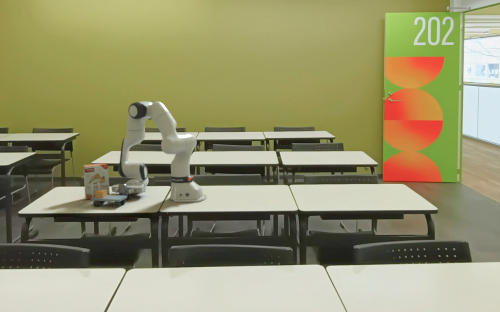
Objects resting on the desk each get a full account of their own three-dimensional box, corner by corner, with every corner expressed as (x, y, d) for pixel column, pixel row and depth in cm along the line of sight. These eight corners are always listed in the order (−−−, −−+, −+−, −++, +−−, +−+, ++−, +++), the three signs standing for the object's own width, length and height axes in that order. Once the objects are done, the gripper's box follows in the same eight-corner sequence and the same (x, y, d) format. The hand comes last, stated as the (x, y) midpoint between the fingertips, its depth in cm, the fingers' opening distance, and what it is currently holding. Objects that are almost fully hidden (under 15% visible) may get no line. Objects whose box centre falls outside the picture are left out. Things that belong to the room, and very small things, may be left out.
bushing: (129, 199, 289) (128, 183, 287) (125, 201, 284) (124, 185, 282) (121, 199, 290) (120, 183, 288) (117, 201, 285) (116, 184, 283)
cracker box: (86, 200, 288) (84, 166, 285) (85, 198, 293) (82, 164, 290) (110, 197, 295) (108, 164, 291) (108, 195, 300) (106, 162, 296)
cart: (127, 203, 279) (126, 179, 277) (120, 207, 271) (118, 183, 268) (99, 202, 283) (98, 178, 281) (91, 206, 275) (89, 182, 272)
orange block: (107, 195, 279) (107, 189, 278) (103, 197, 274) (102, 192, 274) (99, 195, 280) (99, 189, 280) (95, 197, 275) (94, 191, 275)
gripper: (117, 180, 300) (106, 186, 287) (147, 182, 296) (137, 187, 282) (118, 190, 301) (106, 196, 288) (147, 191, 297) (137, 197, 283)
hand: (122, 191), depth 285 cm, fingers open, 7 cm apart
